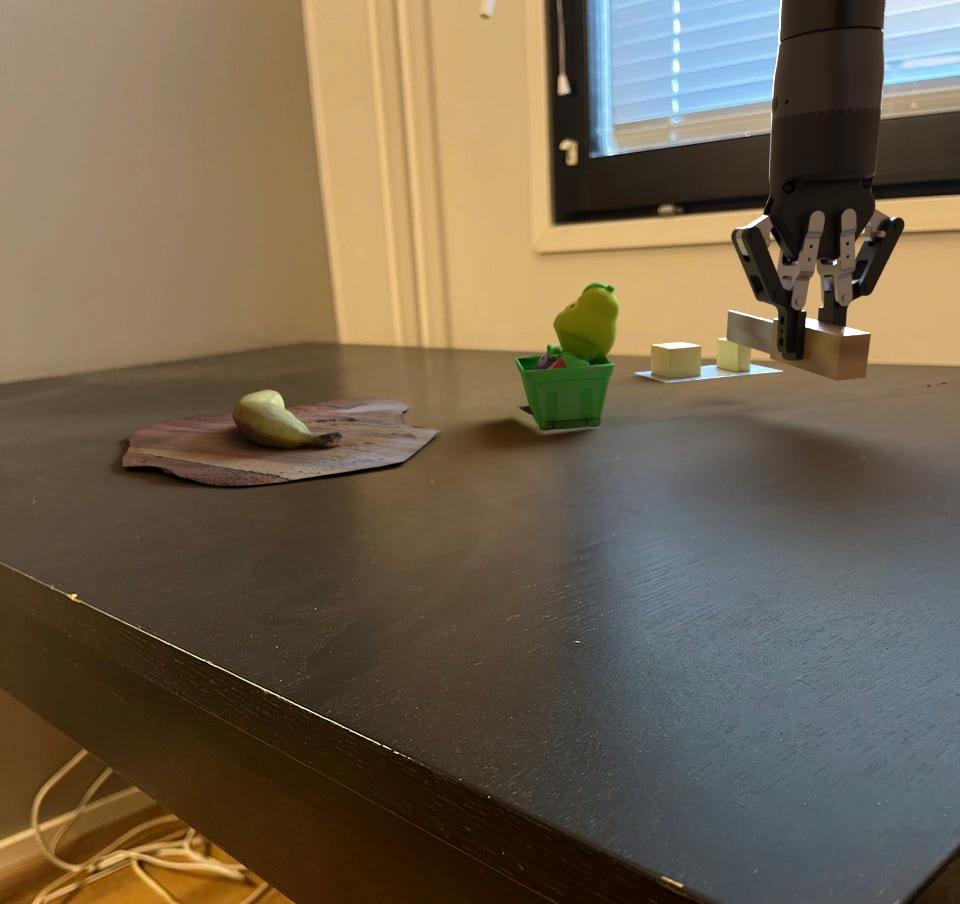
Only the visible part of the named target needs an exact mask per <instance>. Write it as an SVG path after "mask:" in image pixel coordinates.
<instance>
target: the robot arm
mask: <svg viewBox="0 0 960 904" xmlns="http://www.w3.org/2000/svg"><path fill="white" fill-rule="evenodd" d="M779 3H780V4H779V24H778V25H779V26H778V28H779V29H778V43H779V44H778V46H777V56H776V63H775V69H774V73H773V80H772V81H773V83H772V96H771V97H772V99H771V103H770V110H771V123H770V142H769V143H770V144H769V164H768V166H769V167H768V182H769V188H770V189H769V190H770V192H769V196H768V199H767V202H766V204H765V206H764V208H763V213H762V215H761V217H759V218H757V219H755V220H754V221H752V222H751V223H749V224H748V225H746V226H741V227H740V226H738V227H735V228H734V229H733V230H732V232H731V235H730V238H731V239H730V240H731V242H732V244H733V247H734V249H735V252H736V254H737V257H738V259H739V261H740V264H741V266H742V269H743V272H744V273H745V275H746V279H747V281H748V283H749V286H750V288H751V291H752V293H753V296H754V298H755V299H756V301H758V302H761V303H764V304H765V303H766V304H768V305H771V306H774V307H775V309H776V310H777V318H778V328H777V332H778V333H777V349H778V352H781V353H782V357H783V359H784V360H790V361H798V360H802V358H803V355H804V339H805V327H806V318H807V314H808V313H807V312H808V311H807V310H803V309H804V307H805V306H806V303H807V297H808V291H809V285H810V281H811V278H813V277H814V274H815V270H816V273H817V274H818V275H819V277H820V278H819V279H820V300H821V303H822V304H823V306H819V307H818V309H817V310H818V311H817V321H821V322H825V323H830V324H834V325H838V326H842V327H846V328H847V317H848V316H847V315H848V308H849V305H850V304H851V303H852V302H853V301H855V300H857V299H860V298H861V297H868V296H870V295H871V294H872V293H873V292H874V290H875V288H876V285H877V283H878V282H879V280H880V278H881V275H882V274H883V272H884V270H885V267H886V266H887V263H888V261H889V260H890V258H891V255H892V253H893V252H894V249H895V248H896V246H897V243H898V241H899V239H900V237H901V235H902V233H903V232H904V229H905V221H904V219H903V218H902V217H901V216H900V217H899V216H898V217H894V216H892V217H891V216H889V215H887V214H885V213H883V212H882V211H881V210H878V209H877V208H876V200H875V197H874V194H873V191H872V190H873V189H872V182H873V180H874V177H875V174H876V172H877V166H878V153H879V144H880V143H879V142H880V131H881V130H880V129H881V117H882V106H883V105H882V104H883V93H884V82H885V50H884V49H885V47H884V46H885V45H884V39H885V37H884V35H885V34H884V31H885V30H884V29H885V19H886V6H887V0H780V2H779ZM770 235H771V236H772V237H773V239H774V240H775V242H776V244H777V246H778V247H779V254H778V255H779V256H778V261H777V268H776V266H775V263H774V260H773V258H772V256H771V253H770V250H769V247H770V245H771V244H772V239H771V237H770ZM860 236H861V237H862V238H863V242H862V244H861V247H860V248H859V251H858V252H857V254H856V242H857V241H858V239H859V237H860Z"/></svg>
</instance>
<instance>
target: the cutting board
mask: <svg viewBox="0 0 960 904" xmlns="http://www.w3.org/2000/svg"><path fill="white" fill-rule="evenodd" d="M410 407H411V405H410V404H407V403H405V402H401V401H400V400H395V399H392V398H390V397H384V396H383V397H382V396H360V397H359V396H358V397H348V398H347V397H345V398H339V399H334V400H328V401H322V402H316V403H309V404H304V405H297V406H291V407H285V402H284V400H283V397H282V396H281V394H280V393H279V392H278V391H276V390H273V389H262V390H258V391H254V392H252V393H251V392H250V393H248V394H245V395H244V396H242V397H241V398H240V399H239V400H238V402H237V403H236V404H235V406H234V409H233V412H232V413H227V414H196V415H193V416H189V417H181V418H176V419H170V420H164V421H162V422H159V423H156V424H153V425H150V426H147V427H145V428H143V429H140V430H137V431H134V432H132V433H130V434H128V435H126V438H127V439H128V441H129V445H128V448H127V450H126V452H125V453H124V455H123V456H122V467H126V468H127V467H128V468H137V467H156V468H161V469H162V471H163V472H164V473H166V474H169V475H176V476H177V477H178V478H180V479H185V480H188V481H189V480H190V481H195V482H198V483H201V484H204V485H211V486H216V487H222V486H223V487H229V486H237V487H249V486H255V485H256V486H257V485H268V484H275V483H276V484H277V483H286V482H290V481H291V482H292V481H295V480H301V479H305V478H313V477H318V476H324V475H332V474H333V475H334V474H341V473H346V472H353V471H359V470H363V469H369V468H370V469H371V468H378V467H384V466H388V465H392V464H397V463H402V462H405V461H406V460H408V459H409V458H411V456H413V455H414V454H416V453H417V452H418V451H419V450H421V449H422V448H423V447H424V446H425V445H427V444H428V442H430V440H432V439H433V438H434V436H435V435H436V434H438V433H440V432H442V430H441V429H440V430H439V429H436V428H431V427H425V426H424V427H423V426H417V425H410V424H407V423H403V417H404V414H403V412H405V411H407V410H409V409H410ZM407 408H408V409H407Z"/></svg>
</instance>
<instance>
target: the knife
mask: <svg viewBox="0 0 960 904" xmlns="http://www.w3.org/2000/svg"><path fill="white" fill-rule="evenodd" d="M777 328H778V317H775V318H773V319H772V320H771V319H766V318H763V317H760V316H755V315H751V314H747V313H744V312H739V311H736V310H731V309H729V310H727V319H726V335H725V336H726V337H725V338H726V340H728V341H731V342H734V343H737V344H740V345H743V346H746V347H749V348H751V350H755V351H759V352H762V353H765V354H768V355H769V359H770V360H773V361H775V362H779V363H782V364H784V365H788V366H791V367H794V368H796V369H800V370H803V371H806V372H809V373H812V374H815V375H817V376H821V377H823V378H827V379H830V380H833V381H837V382H838V381H839V382H840V381H848V380H858V379H866V377H867V369H868V362H869V353H870V345H871V339H872V338H871V337H872V333H870V332H866V331H862V330H859V329H854V328H851V327H847V326H846V327H842V326H838V325H834V324H830V323H825V322H821V321H818V319H812V318H808V317H806V327H805V339H804V355H803V358H802V360H798V361H790V360H784V359H783V357H782V353H781V352H778V349H777V333H778V332H777Z"/></svg>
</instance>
